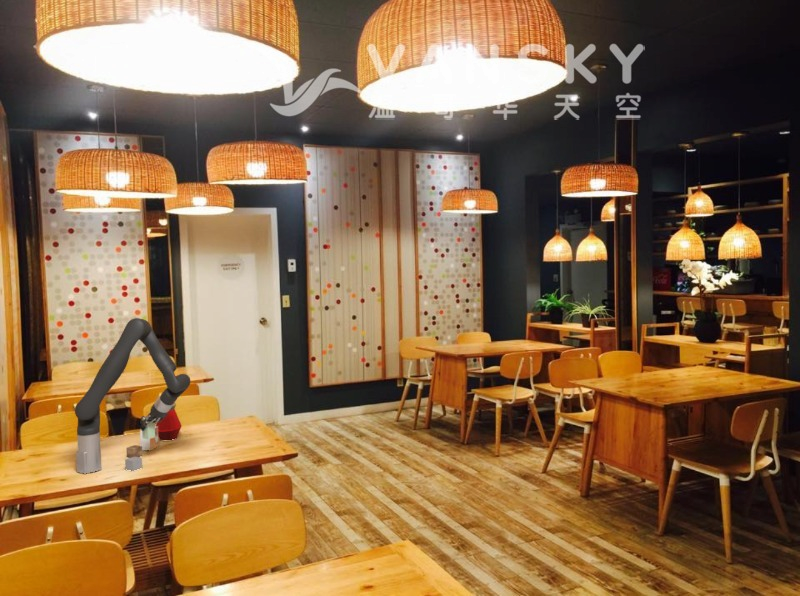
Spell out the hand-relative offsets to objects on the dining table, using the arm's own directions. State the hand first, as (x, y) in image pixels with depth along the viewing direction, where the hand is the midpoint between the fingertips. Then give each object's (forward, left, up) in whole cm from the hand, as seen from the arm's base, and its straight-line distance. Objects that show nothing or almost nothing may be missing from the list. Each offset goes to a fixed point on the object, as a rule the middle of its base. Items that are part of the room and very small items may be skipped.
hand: (145, 428), depth 303 cm
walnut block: (0, +9, -15) cm, 18 cm away
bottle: (+30, +20, -15) cm, 39 cm away
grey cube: (-13, -7, -15) cm, 21 cm away
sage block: (0, -2, -4) cm, 5 cm away
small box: (+13, +14, -15) cm, 25 cm away
